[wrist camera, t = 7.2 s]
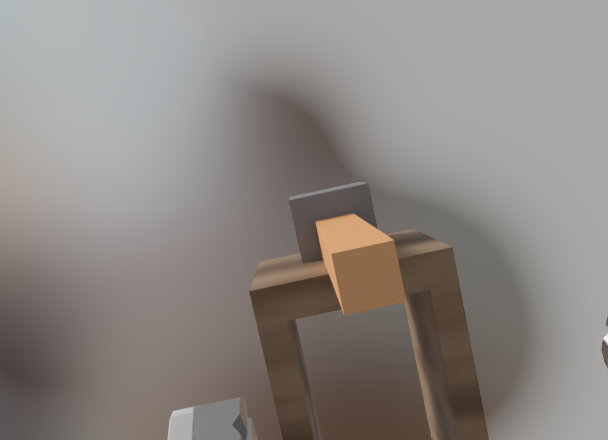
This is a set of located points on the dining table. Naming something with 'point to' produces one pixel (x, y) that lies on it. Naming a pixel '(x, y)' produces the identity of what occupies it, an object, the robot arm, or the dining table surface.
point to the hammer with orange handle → (349, 246)
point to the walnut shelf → (422, 322)
